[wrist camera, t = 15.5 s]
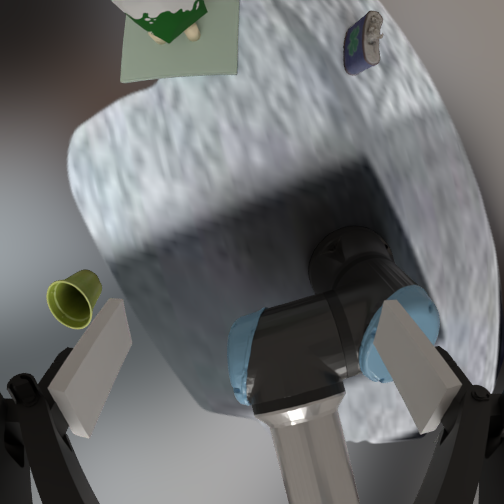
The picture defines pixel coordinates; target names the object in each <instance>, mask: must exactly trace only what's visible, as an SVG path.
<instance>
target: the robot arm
mask: <svg viewBox="0 0 504 504" xmlns="http://www.w3.org/2000/svg"><path fill="white" fill-rule="evenodd" d="M309 279H310V283H311V285H312V288H313V290H314V292H315V294H316V295H312V296H309V297H306V298H302V299H299V300H296V301H292V302H289V303H285V304H282V305H278V306H275V307H271V308H263V309H261V310H260V311H257V312H254V313H251V314H248V315H245V316H242V317H240V318H238V319H237V320H236V321H235V322H234V323H233V325H232V327H231V330H230V333H229V337H228V347H227V358H228V370H229V377H230V382H231V385H232V386H233V389H234V394H235V397H236V399H237V400H238V401H239V402H240V403H241V404H245V405H251V404H252V408H253V412H254V416H255V418H257V419H259V420H260V421H262V422H264V423H265V424H267V425H268V426H269V427H270V430H271V434H272V438H273V442H274V446H275V450H276V454H277V458H278V462H279V466H280V470H281V474H282V478H283V482H284V486H285V490H286V494H287V498H288V501H289V504H360V502H359V497H358V493H357V489H356V484H355V479H354V475H353V471H352V466H351V462H350V458H349V454H348V450H347V446H346V441H345V437H344V433H343V429H342V425H341V421H340V417H339V413H338V407H339V405H340V403H341V401H342V399H343V398H344V396H345V394H346V392H345V388H344V385H343V379H346V378H349V377H352V376H355V375H358V374H361V373H363V375H365V376H366V377H368V378H369V379H370V380H372V381H374V382H377V381H380V382H381V383H387V382H391V381H394V383H395V385H396V387H397V389H398V391H399V393H400V394H401V396H402V398H403V400H404V402H405V404H406V406H407V408H408V410H409V412H410V414H411V416H412V418H413V420H414V422H415V424H416V426H417V428H418V430H419V432H420V434H423V433H427V432H430V431H433V430H435V429H436V427H437V426H438V424H439V423H440V421H441V422H442V424H443V426H444V427H443V429H442V430H441V432H440V433H439V435H438V436H437V438H436V439H435V441H434V443H436V441H437V440H438V442H437V445H436V448H435V451H434V454H433V457H432V460H431V462H430V465H429V468H428V471H427V473H426V476H425V478H424V480H423V483H422V485H421V488H420V490H419V493H418V495H417V497H416V499H415V501H414V503H413V504H473V501H474V498H475V494H476V490H477V486H478V483H479V504H504V391H503V392H502V394H490V392H489V391H488V390H487V389H486V388H484V387H482V386H480V385H472V384H471V382H470V381H469V380H468V378H467V377H466V376H465V374H464V373H463V372H462V370H461V369H460V368H459V366H457V364H456V362H455V361H453V359H452V357H451V356H450V355H449V353H448V352H447V351H445V350H444V349H442V348H441V347H440V346H437V347H434V344H435V342H436V339H437V336H438V332H439V327H440V318H439V313H438V310H437V308H436V306H435V304H434V303H433V301H432V300H431V299H430V298H429V296H428V295H427V293H426V292H425V290H424V289H423V288H421V287H419V286H418V285H417V284H416V283H415V282H414V281H413V280H412V279H411V278H410V277H409V276H408V275H407V274H405V273H404V272H403V271H402V270H401V269H400V268H399V267H398V266H397V265H396V264H395V262H394V258H393V255H392V252H391V249H390V247H389V246H388V244H387V243H386V241H385V240H384V239H383V238H382V237H380V236H379V235H378V234H377V233H375V232H374V231H372V230H370V229H368V228H365V227H360V226H350V227H344V228H341V229H339V230H336V231H334V232H333V233H331V234H329V235H328V236H327V237H326V238H324V239H323V240H322V241H321V242H320V244H319V245H318V246H317V248H316V249H315V251H314V253H313V255H312V257H311V260H310V265H309ZM131 345H132V340H131V335H130V331H129V326H128V322H127V317H126V312H125V307H124V303H123V299H113V298H109V300H108V301H107V302H106V304H105V305H104V306H103V308H102V309H101V310H100V312H99V313H98V315H97V316H96V317H95V319H94V320H93V322H92V323H91V324H90V326H89V327H88V328H87V330H86V331H85V333H84V334H83V335H82V337H81V338H80V340H79V341H78V343H77V344H76V346H75V347H74V348H68V347H67V348H66V349H65V350H63V351H62V352H61V353H59V354H58V356H57V357H56V359H55V360H54V363H52V364H51V366H50V369H48V370H47V372H46V373H45V375H44V376H43V378H42V379H41V381H40V382H39V384H37V382H36V380H35V378H34V376H32V375H31V374H27V373H22V374H18V375H16V376H14V377H13V378H12V379H10V381H9V382H8V384H7V390H8V392H9V394H10V395H11V397H12V399H5V398H3V396H2V395H1V393H0V504H33V503H32V493H31V480H30V468H31V471H32V474H33V478H34V481H35V484H36V487H37V490H38V493H39V495H40V498H41V501H42V503H43V504H99V502H98V500H97V498H96V496H95V494H94V492H93V491H92V489H91V487H90V485H89V483H88V481H87V479H86V476H85V474H84V472H83V470H82V468H81V466H80V464H79V461H78V459H77V457H76V454H75V452H74V450H73V447H72V445H71V443H70V440H69V438H68V436H67V434H66V431H67V429H68V427H70V429H71V430H72V432H73V434H74V435H78V436H82V437H85V438H89V439H90V437H91V435H92V432H93V430H94V427H95V425H96V423H97V420H98V418H99V415H100V413H101V411H102V408H103V406H104V404H105V402H106V399H107V397H108V395H109V392H110V390H111V388H112V386H113V383H114V381H115V379H116V377H117V374H118V373H119V370H120V368H121V366H122V364H123V361H124V360H125V357H126V355H127V353H128V351H129V349H130V347H131Z"/></svg>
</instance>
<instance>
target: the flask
mask: <svg viewBox="0 0 504 504" xmlns="http://www.w3.org/2000/svg"><path fill="white" fill-rule="evenodd" d="M382 23H383V18H382V16H381V15H380V14H379V12H376V11H369V12H368V13H367V14H366V15H365V16H364V17H362V18H361V19H360V20H359V21H358V22H356V23H355V24H354V25H353V26H352V27H351V28H349V29H348V31H347V32H346V36H345V40H344V46H343V48H344V67H345V70H346V72H347V73H348V74H349V75H357V74H359V73H360V72H362V71H364V70H365V69H368V68H370V67H372V66H375V65H377V64H378V63H379V61H380V51H379V38H380V39H381V38H382V36H383V33H382V35H380V28H381V25H382Z"/></svg>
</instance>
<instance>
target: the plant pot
mask: <svg viewBox="0 0 504 504" xmlns="http://www.w3.org/2000/svg"><path fill="white" fill-rule="evenodd" d="M101 291H102V285H101V283H100V281H99V278H98V277H97V275H96V274H95V273H93V272H92V271H90V270H81V271H79V272H77V273H75V274H74V275H72V276H70V277H68V278H67V279H65V280H58V281H55V282H53V283H52V284H51V285H50V286H49V288H48V290H47V303H48V306H49V308H50V311H51V312H52V314H53V315H54V317H55V318H56V319H57V320H58V321H59V322H61V323H62V324H63V325H65V326H67V327H69V328H73V329H82V328H84V327H86V326H87V325H88V324H89V323H90V321H91V319H92V311H93V308H94V305H95V304H96V301H97V299H98V298H99V296H100V294H101Z"/></svg>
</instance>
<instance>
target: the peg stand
mask: <svg viewBox="0 0 504 504" xmlns="http://www.w3.org/2000/svg"><path fill="white" fill-rule="evenodd" d="M204 3H205V6H206V9H207V11H208V13H206V14H205V15H204V16H202V17H201V18H200V19H199V20H197V21H196V22H195V23H193V24H192V25H191V26H190V27H189V28H187V29H186V30H185V31H184V32H183V33H181V34H180V35H179V36H178V37H177V38H176V39H174V40H173V41H172V42H171V43H170V44H169V43H167V42H165V41H163V40H162V39H160V38H158V37H156V36H154V35H153V34H151V33H149V32H147V31H146V30H144V29H143V28H142V27H140V26H139V25H138V24H136V23H135V22H134V21H133V20H132V19H130V18H129V17H128V16H127V15H126V21H125V31H124V40H123V50H122V63H121V79H120V82H123V83H129V82H136V81H143V80H151V79H161V78H172V77H185V76H202V75H237V55H238V23H239V0H204Z"/></svg>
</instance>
